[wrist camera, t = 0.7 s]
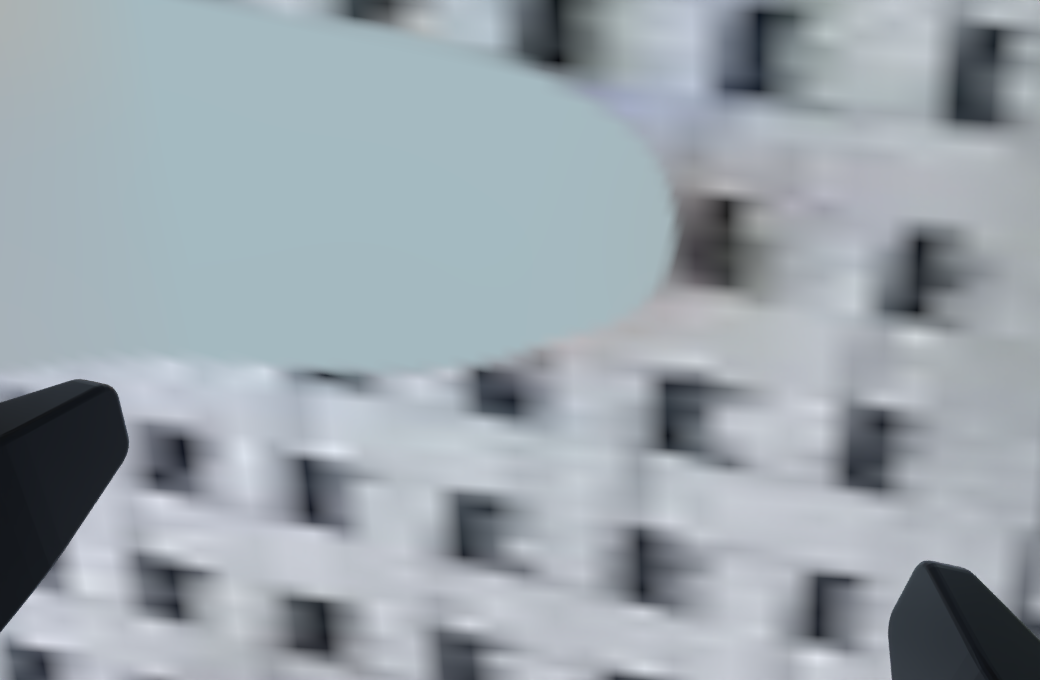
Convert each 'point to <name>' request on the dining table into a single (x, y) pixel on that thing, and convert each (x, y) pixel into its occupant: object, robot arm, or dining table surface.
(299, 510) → the dining table surface
